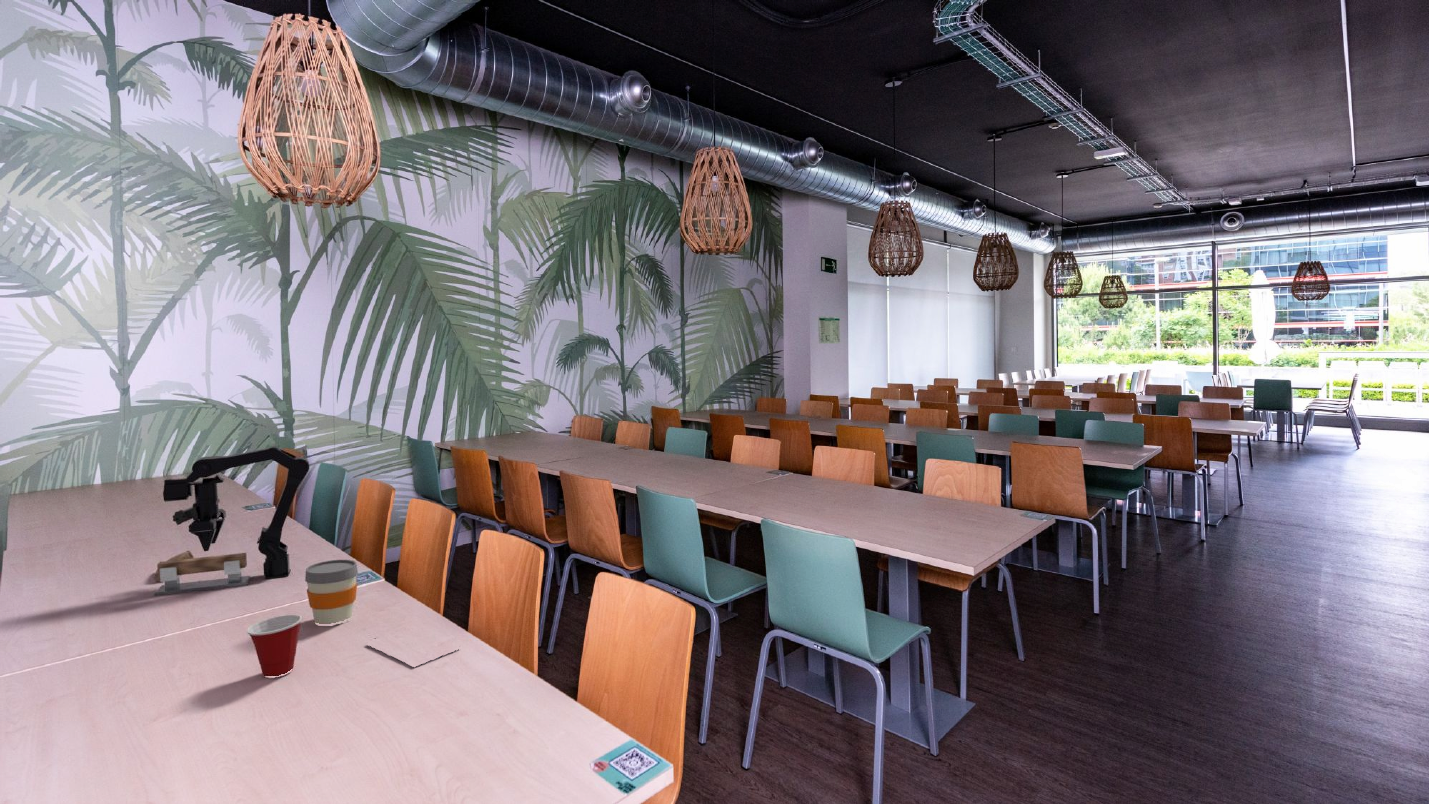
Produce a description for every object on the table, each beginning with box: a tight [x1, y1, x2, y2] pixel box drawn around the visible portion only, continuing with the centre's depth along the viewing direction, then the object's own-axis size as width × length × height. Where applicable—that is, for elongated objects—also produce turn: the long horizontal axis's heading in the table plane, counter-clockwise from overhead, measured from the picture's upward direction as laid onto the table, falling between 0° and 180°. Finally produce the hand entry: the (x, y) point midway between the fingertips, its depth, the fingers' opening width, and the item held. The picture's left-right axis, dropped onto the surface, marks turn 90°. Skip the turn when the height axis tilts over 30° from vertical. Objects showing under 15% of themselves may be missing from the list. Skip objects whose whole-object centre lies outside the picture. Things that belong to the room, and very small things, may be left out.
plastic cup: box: [245, 613, 303, 677], centre depth 159 cm, size 11×11×12 cm
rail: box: [156, 552, 248, 578], centre depth 216 cm, size 22×3×4 cm, turn 116°
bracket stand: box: [154, 560, 252, 597], centre depth 216 cm, size 23×7×8 cm, turn 114°
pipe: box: [153, 549, 195, 583], centre depth 228 cm, size 6×17×10 cm
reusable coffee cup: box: [304, 559, 359, 624], centre depth 190 cm, size 12×13×15 cm
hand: (209, 547), depth 218 cm, fingers open, 9 cm apart
